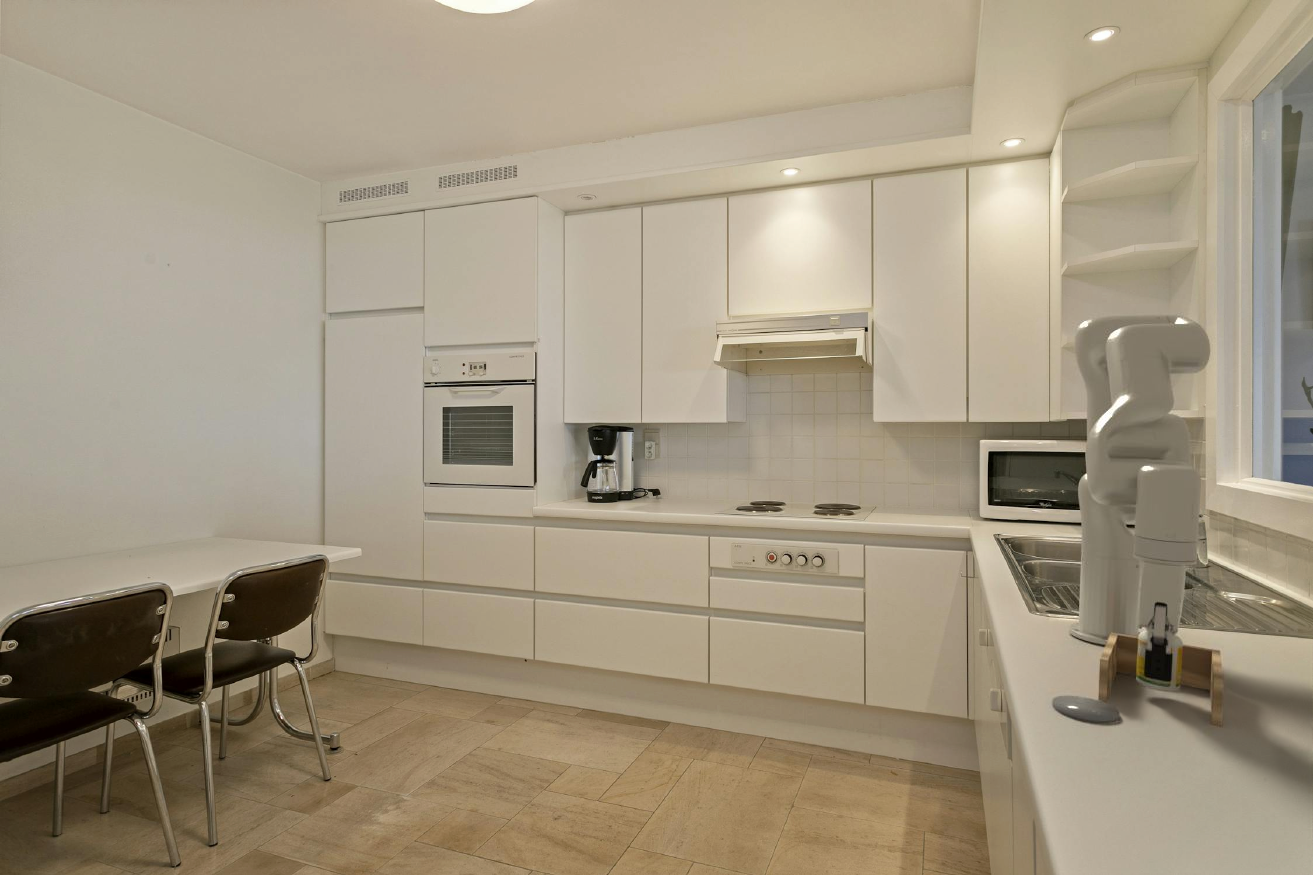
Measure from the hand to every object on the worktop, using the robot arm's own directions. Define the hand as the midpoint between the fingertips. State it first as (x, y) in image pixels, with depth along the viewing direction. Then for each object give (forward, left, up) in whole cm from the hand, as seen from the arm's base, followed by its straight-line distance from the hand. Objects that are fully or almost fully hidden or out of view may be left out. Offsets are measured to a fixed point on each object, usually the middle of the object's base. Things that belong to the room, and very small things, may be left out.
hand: (1158, 671), depth 105 cm
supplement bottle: (0, 0, -2) cm, 2 cm away
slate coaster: (+13, -8, -4) cm, 15 cm away
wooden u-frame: (-1, 0, -4) cm, 4 cm away
